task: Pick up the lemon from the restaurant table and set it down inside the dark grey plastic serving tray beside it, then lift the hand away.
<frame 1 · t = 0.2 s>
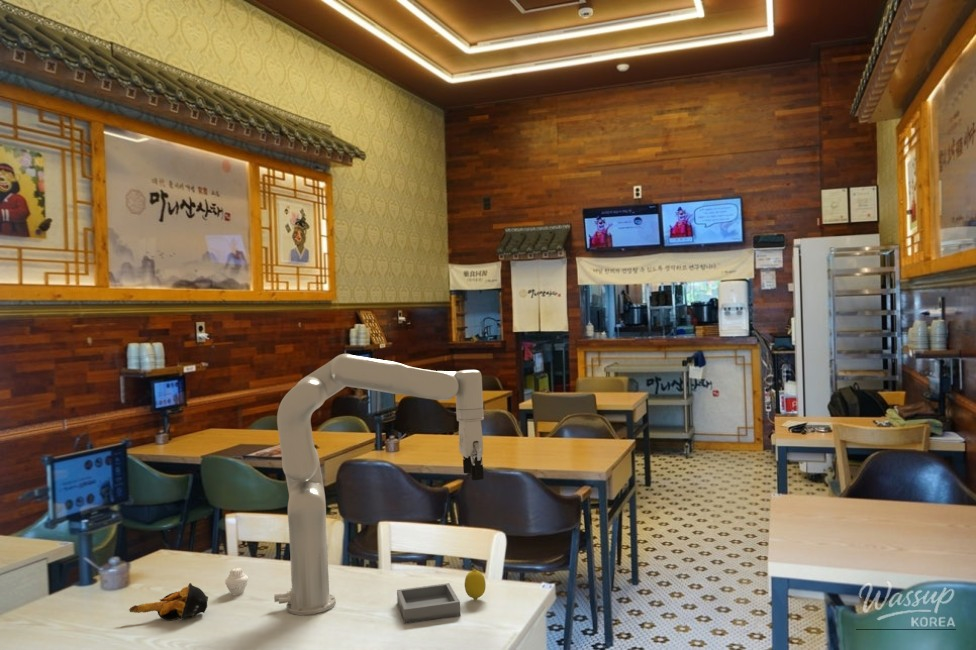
hand: (473, 476, 204), 30 cm above the table, tool pointing down, fingers open, 9 cm apart
fried shrimp in bowl: (172, 618, 190), on the table
tray: (428, 609, 189), on the table
white vase: (237, 593, 207), on the table
lemon: (475, 600, 194), on the table
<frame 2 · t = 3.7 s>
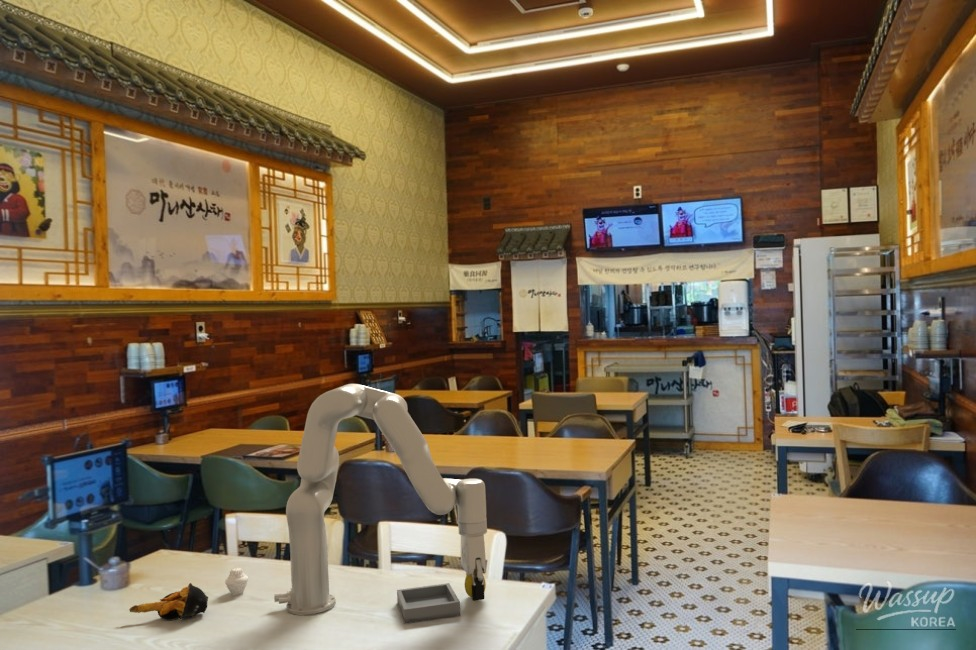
hand: (475, 594, 194), 1 cm above the table, tool pointing down, fingers closed on lemon, 5 cm apart
lemon: (475, 600, 194), on the table, touching gripper
everything else where it was.
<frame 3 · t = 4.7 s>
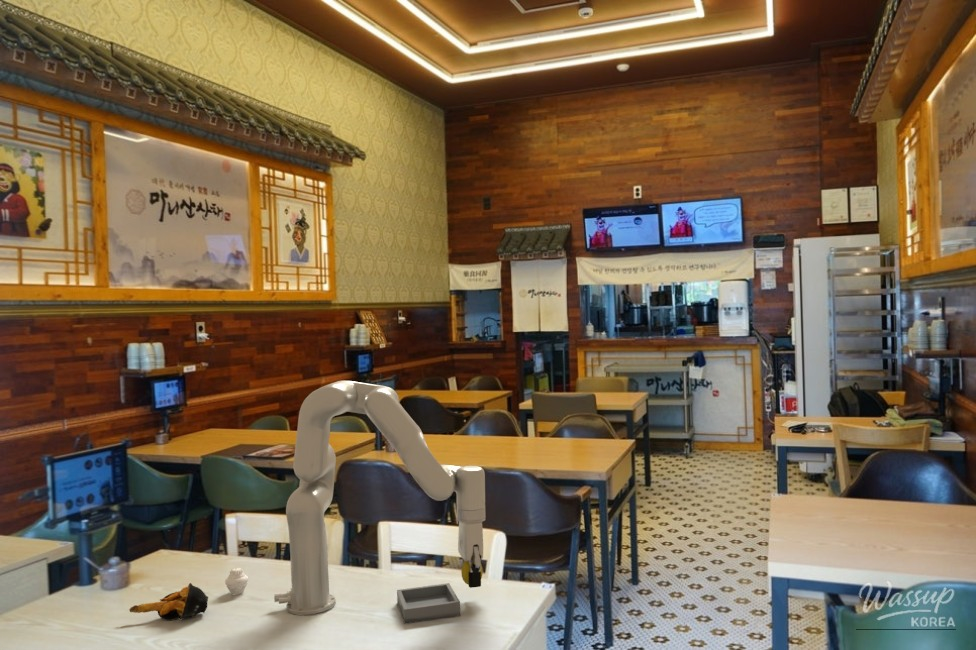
hand: (472, 581, 194), 5 cm above the table, tool pointing down, fingers closed on lemon, 5 cm apart
lemon: (472, 587, 194), point 3 cm above the table, touching gripper
everything else where it was.
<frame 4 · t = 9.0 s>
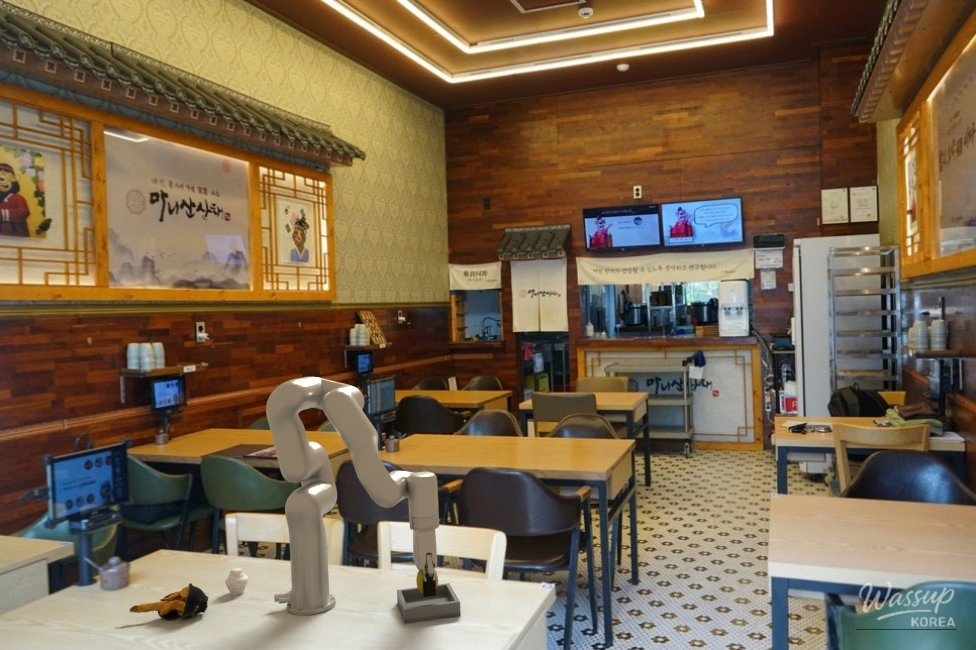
hand: (427, 591, 188), 5 cm above the table, tool pointing down, fingers closed on lemon, 5 cm apart
lemon: (428, 596, 188), point 3 cm above the table, touching gripper
everything else where it was.
when the fingers open (4 cm above the table, at t = 10.1 s): lemon drops 1 cm, resting on tray.
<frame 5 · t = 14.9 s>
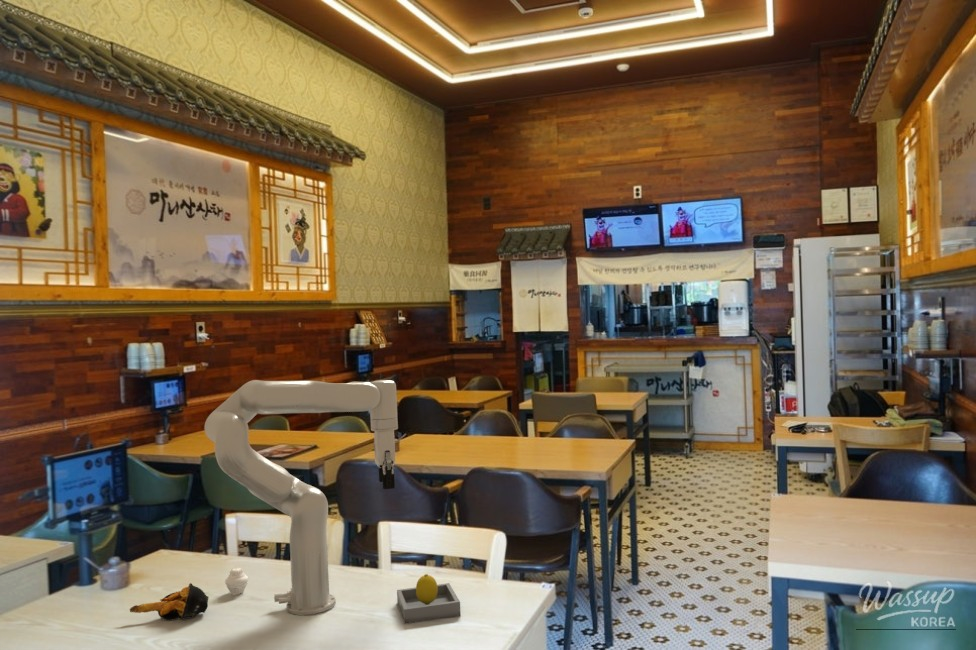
hand: (386, 484, 207), 28 cm above the table, tool pointing down, fingers open, 9 cm apart
lemon: (427, 606, 189), point 1 cm above the table, touching tray
everything else where it was.
at the end: lemon inside the target area on the tray (0.2 cm from its centre), point 0.8 cm above the tray's base; the gripper is holding nothing; lemon touching tray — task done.
